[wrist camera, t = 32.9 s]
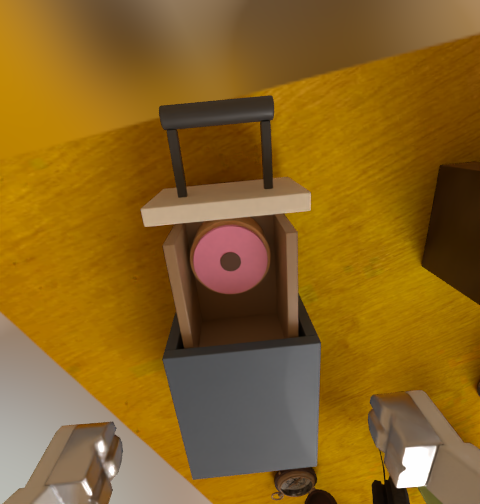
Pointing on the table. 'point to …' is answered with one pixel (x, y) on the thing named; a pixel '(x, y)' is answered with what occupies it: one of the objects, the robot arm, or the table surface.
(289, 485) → the compass
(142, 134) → the table surface
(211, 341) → the drawer
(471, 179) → the stand
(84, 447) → the robot arm
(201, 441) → the cabinet
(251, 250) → the donut
